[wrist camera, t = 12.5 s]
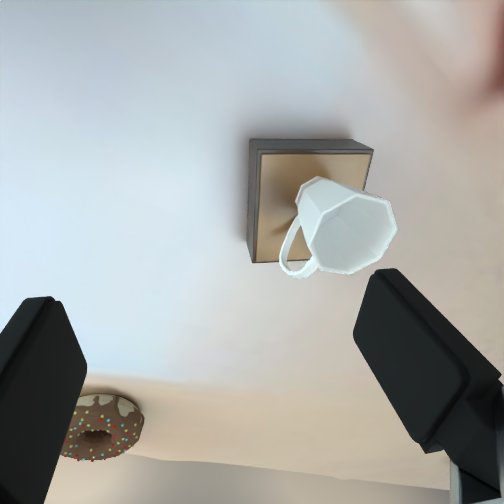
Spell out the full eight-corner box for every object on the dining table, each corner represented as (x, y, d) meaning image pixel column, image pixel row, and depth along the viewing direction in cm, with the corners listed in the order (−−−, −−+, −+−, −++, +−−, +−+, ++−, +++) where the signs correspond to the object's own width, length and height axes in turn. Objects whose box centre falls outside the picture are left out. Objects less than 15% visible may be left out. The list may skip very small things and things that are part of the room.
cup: (365, 189, 29) (416, 226, 22) (298, 261, 32) (324, 312, 26) (317, 145, 26) (359, 172, 19) (247, 229, 29) (262, 277, 23)
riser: (249, 138, 30) (257, 149, 25) (353, 139, 31) (376, 150, 27) (246, 243, 36) (252, 265, 32) (332, 239, 37) (348, 259, 33)
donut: (92, 374, 44) (81, 407, 39) (162, 408, 50) (158, 439, 46) (32, 418, 47) (15, 453, 42) (105, 445, 53) (97, 477, 49)
